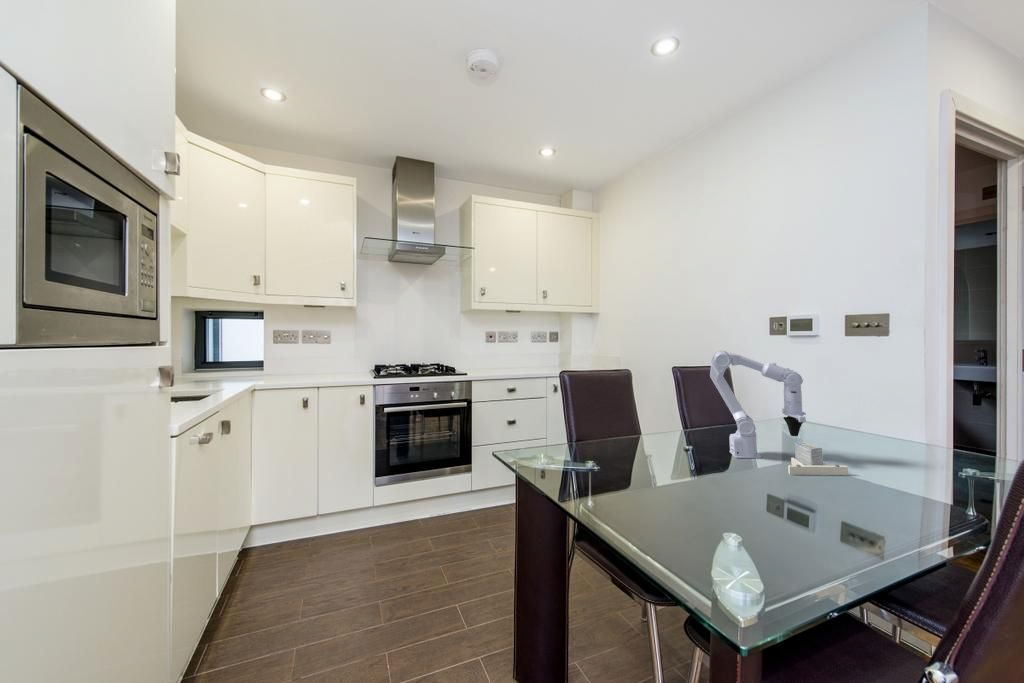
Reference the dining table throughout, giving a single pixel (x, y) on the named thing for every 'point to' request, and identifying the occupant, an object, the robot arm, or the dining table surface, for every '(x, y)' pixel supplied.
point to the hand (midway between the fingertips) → (794, 435)
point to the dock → (815, 469)
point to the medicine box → (808, 454)
